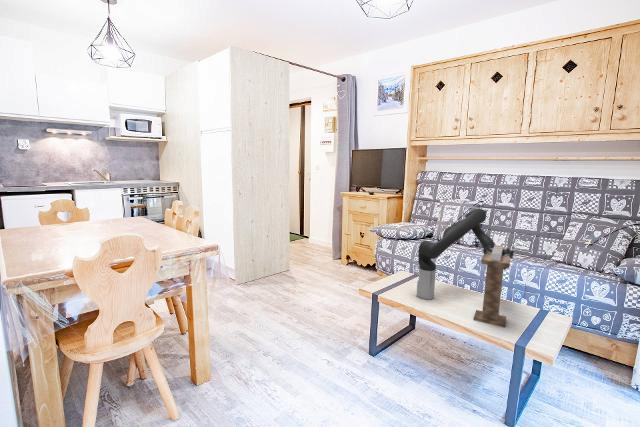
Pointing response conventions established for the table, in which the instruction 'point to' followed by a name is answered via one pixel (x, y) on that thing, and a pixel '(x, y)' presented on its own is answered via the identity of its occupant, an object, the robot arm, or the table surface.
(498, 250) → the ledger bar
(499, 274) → the tall stand
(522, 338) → the table surface
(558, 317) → the table surface
